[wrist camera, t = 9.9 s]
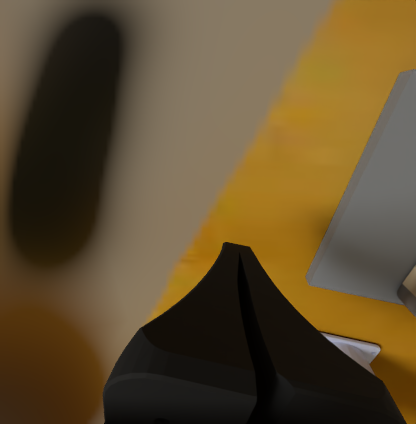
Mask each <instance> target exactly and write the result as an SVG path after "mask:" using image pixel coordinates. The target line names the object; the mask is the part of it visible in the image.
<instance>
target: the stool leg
mask: <svg viewBox="0 0 416 424" xmlns="http://www.w3.org/2000/svg"><path fill="white" fill-rule="evenodd" d="M397 296H398V298H399V299H400V300H401V301H402V302H403V304H404V305H405V306H406V307H407V308H408V309H409V310H410V311H411V312H412V314H413V315H414V316H415V317H416V265H415V267H414V268H413V269H412V271H411V272H410V273H409V275H408V276H407V278H406V279H405V280H404V282H403V283H402V285H401V286H400V287H399V289H398V291H397Z"/></svg>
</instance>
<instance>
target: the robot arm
mask: <svg viewBox="0 0 416 424" xmlns="http://www.w3.org/2000/svg"><path fill="white" fill-rule="evenodd" d="M379 352H380V347H379V346H378V345H376V344H371V343H367V342H362V341H357V340H353V339H348V338H344V337H339V336H334V335H330V334H325V333H320V332H319V331H318V330H317V329H316V328H315V327H314V326H313V325H311V324H310V323H309V322H308V321H307V320H306V319H305V318H304V317H303V316H302V315H301V314H300V313H299V312H298V311H297V310H296V309H295V308H294V307H293V306H292V304H291V303H290V302H289V301H288V300H287V299H286V298H285V297H284V296H283V294H282V293H281V292H280V291H279V290H278V288H277V287H276V286H275V284H274V283H273V282H272V280H271V279H270V278H269V276H268V275H267V273H266V272H265V270H264V269H263V267H262V266H261V264H260V263H259V261H258V259H257V258H256V256H255V254H254V253H253V251H252V250H251V248H250V247H248V246H243V245H238V244H233V243H229V242H225V243H223V246H222V250H221V252H220V254H219V256H218V258H217V260H216V261H215V263H214V264H213V266H212V267H211V269H210V270H209V271H208V273H207V274H206V275H205V276H204V278H203V279H202V280H201V281H200V282H199V283H198V284H197V285H196V286H195V287H194V288H193V289H192V290H191V291H190V292H189V293H188V294H187V295H186V296H185V297H184V298H182V299H181V300H180V301H179V302H178V303H176V304H175V305H174V306H172V307H171V308H170V309H168V310H167V311H166V312H164V313H163V314H162V315H160V316H158V317H157V318H155V319H154V320H152V321H151V322H149V323H147V324H146V325H144V326H143V327H141V328H140V329H139V330H138V331H137V333H136V334H135V335H134V337H133V338H132V339H131V341H130V342H129V343H128V345H127V346H126V348H125V349H124V351H123V352H122V354H121V356H120V357H119V359H118V361H117V362H116V364H115V366H114V368H113V370H112V372H111V375H110V376H109V378H108V380H107V383H106V385H105V387H104V391H103V404H104V417H105V423H104V424H407V423H406V421H405V420H404V418H403V416H402V414H401V413H400V411H399V409H398V407H397V405H396V404H395V402H394V400H393V398H392V397H391V395H390V393H389V391H388V389H387V388H386V386H385V385H384V383H383V381H382V380H380V379H379V378H377V377H376V376H375V374H374V372H373V370H372V369H371V367H370V365H369V364H370V363H371V362H372V360H373V359H374V358H375V357H376V355H377V354H378V353H379Z"/></svg>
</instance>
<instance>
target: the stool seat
mask: <svg viewBox="0 0 416 424" xmlns="http://www.w3.org/2000/svg"><path fill="white" fill-rule="evenodd" d="M415 265H416V70H415V69H413V70H409V71H405V72H401V73H400V74H399V76H398V78H397V80H396V83H395V85H394V87H393V89H392V91H391V93H390V96H389V98H388V100H387V102H386V104H385V106H384V108H383V111H382V113H381V115H380V117H379V119H378V121H377V124H376V126H375V128H374V130H373V132H372V134H371V137H370V139H369V141H368V143H367V145H366V147H365V149H364V152H363V154H362V156H361V158H360V160H359V162H358V165H357V167H356V169H355V171H354V173H353V175H352V178H351V180H350V182H349V184H348V186H347V188H346V190H345V193H344V195H343V197H342V199H341V201H340V203H339V206H338V208H337V210H336V212H335V214H334V216H333V219H332V221H331V223H330V225H329V227H328V229H327V231H326V234H325V236H324V238H323V240H322V242H321V244H320V247H319V249H318V251H317V253H316V255H315V257H314V260H313V262H312V264H311V266H310V268H309V270H308V272H307V275H306V279H307V282H308V284H309V285H310V286H315V287H320V288H325V289H329V290H334V291H339V292H344V293H348V294H353V295H358V296H363V297H368V298H372V299H377V300H382V301H387V302H391V303H396V304H401V305H404V304H403V302H402V301H401V300H400V299H399V298H398V296H397V291H398V289H399V287H400V286H401V285H402V283H403V282H404V280H405V279H406V278H407V276H408V275H409V273H410V272H411V271H412V269H413V268H414V267H415Z"/></svg>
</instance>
